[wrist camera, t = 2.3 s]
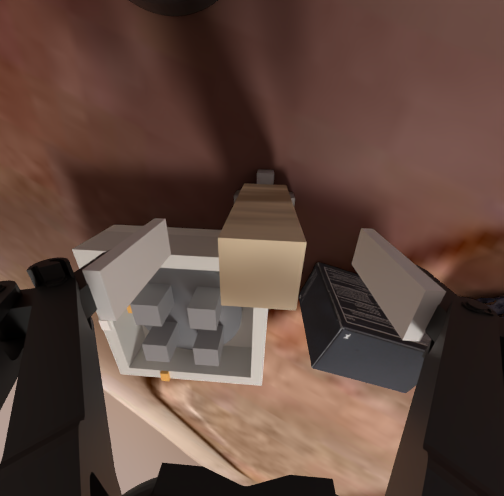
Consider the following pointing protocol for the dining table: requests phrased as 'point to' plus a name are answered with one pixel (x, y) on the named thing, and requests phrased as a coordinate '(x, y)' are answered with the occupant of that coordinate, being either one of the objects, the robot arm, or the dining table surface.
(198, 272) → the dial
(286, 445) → the dining table surface
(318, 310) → the small box
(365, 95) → the dining table surface
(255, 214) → the long wooden block
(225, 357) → the white open square box
